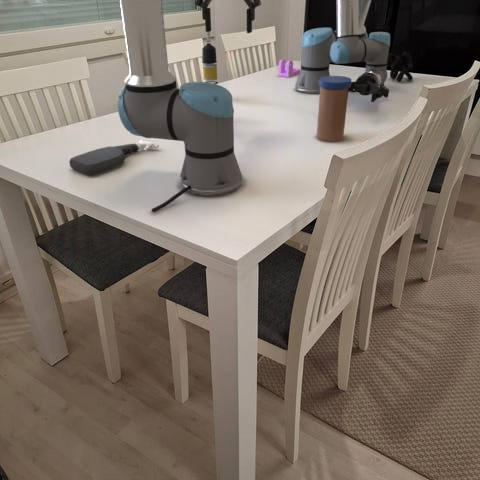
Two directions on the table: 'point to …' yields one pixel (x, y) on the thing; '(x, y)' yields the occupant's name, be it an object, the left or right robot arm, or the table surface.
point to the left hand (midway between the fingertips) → (228, 32)
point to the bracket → (287, 69)
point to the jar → (332, 114)
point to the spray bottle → (106, 157)
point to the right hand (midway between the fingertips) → (351, 95)
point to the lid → (335, 82)
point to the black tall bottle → (209, 61)
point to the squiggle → (400, 66)
